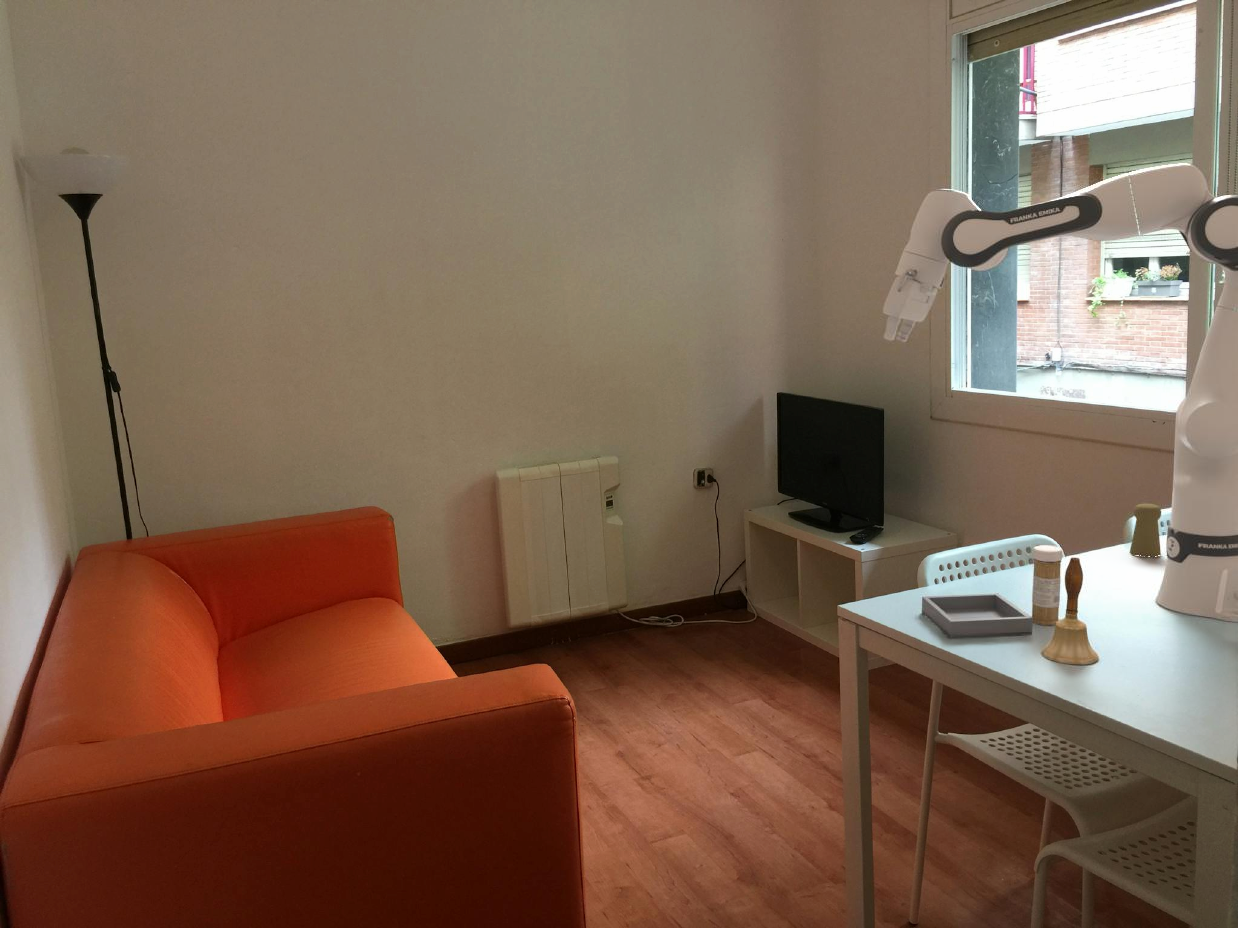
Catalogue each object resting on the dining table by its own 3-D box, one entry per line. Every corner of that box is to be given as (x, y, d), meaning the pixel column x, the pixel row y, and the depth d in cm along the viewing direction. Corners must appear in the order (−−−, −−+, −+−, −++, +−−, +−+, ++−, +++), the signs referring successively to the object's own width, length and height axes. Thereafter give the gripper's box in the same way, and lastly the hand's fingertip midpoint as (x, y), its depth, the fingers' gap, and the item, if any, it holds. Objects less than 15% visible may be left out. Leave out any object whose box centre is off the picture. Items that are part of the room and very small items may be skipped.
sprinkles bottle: (1043, 616, 174) (1046, 543, 172) (1064, 623, 170) (1068, 548, 168) (1024, 620, 172) (1027, 546, 170) (1046, 628, 168) (1049, 552, 166)
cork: (1166, 557, 209) (1169, 506, 207) (1138, 558, 209) (1140, 507, 207) (1152, 550, 215) (1154, 501, 213) (1124, 550, 215) (1126, 501, 213)
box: (997, 609, 179) (998, 593, 178) (1032, 634, 165) (1032, 617, 164) (921, 612, 178) (922, 596, 178) (950, 638, 164) (950, 621, 164)
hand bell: (1045, 643, 161) (1048, 549, 158) (1100, 651, 157) (1105, 554, 154) (1037, 660, 154) (1041, 562, 151) (1096, 668, 150) (1101, 568, 147)
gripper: (922, 272, 179) (896, 344, 183) (946, 281, 197) (921, 346, 201) (890, 263, 182) (864, 333, 186) (916, 272, 200) (892, 337, 203)
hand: (894, 340), depth 193 cm, fingers open, 8 cm apart
